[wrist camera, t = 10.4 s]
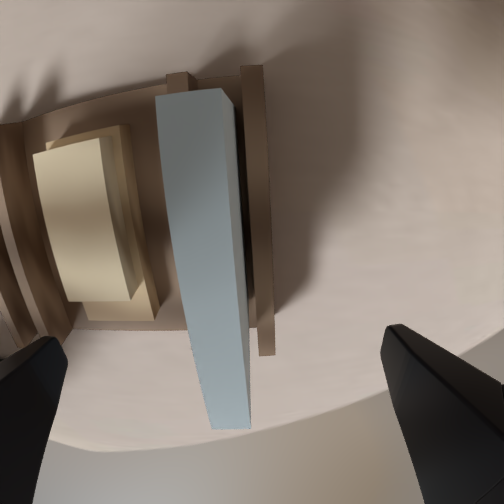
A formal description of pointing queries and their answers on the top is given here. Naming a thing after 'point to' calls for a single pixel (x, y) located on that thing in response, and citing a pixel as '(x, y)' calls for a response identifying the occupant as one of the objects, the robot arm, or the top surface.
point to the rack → (151, 205)
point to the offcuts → (97, 224)
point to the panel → (209, 244)
